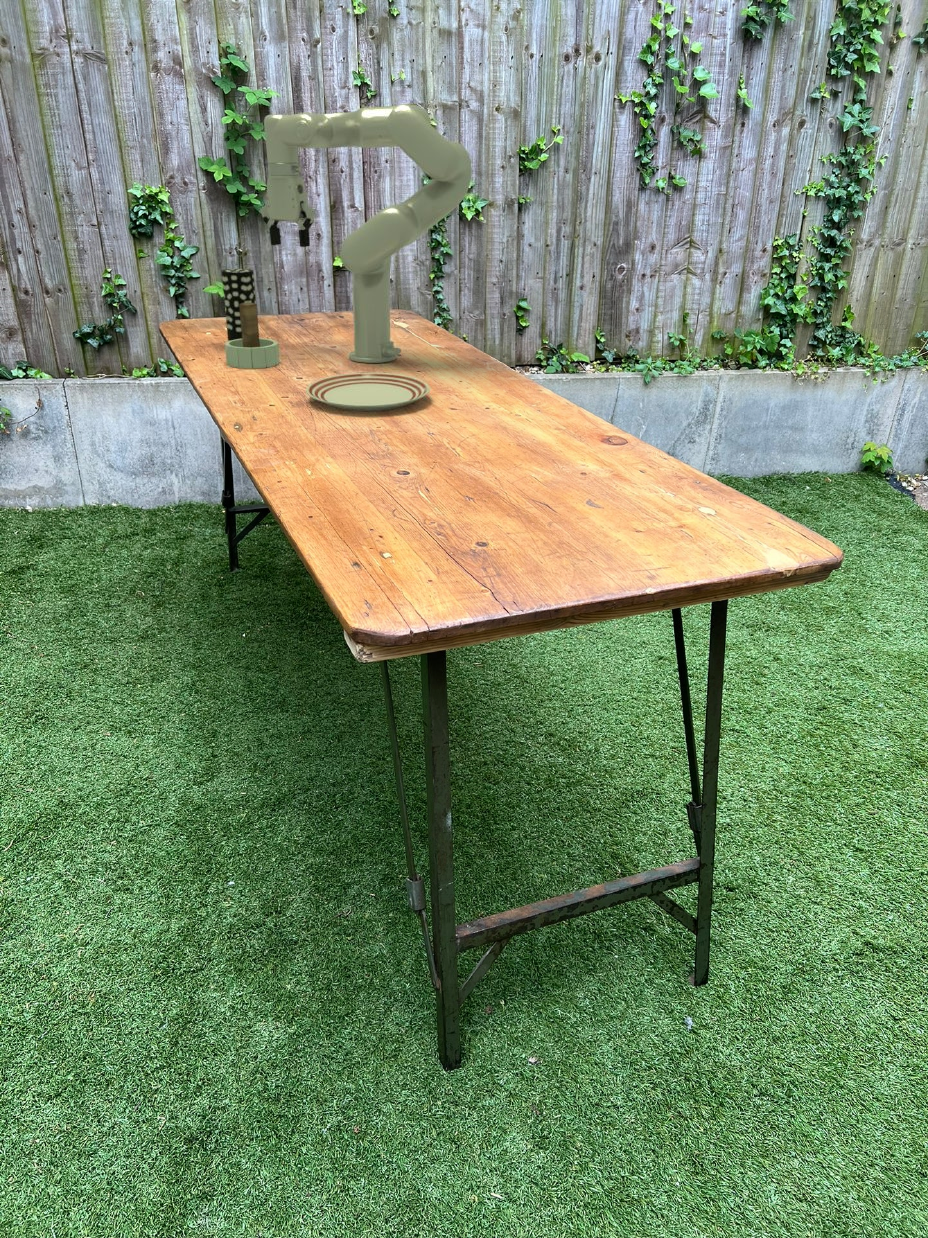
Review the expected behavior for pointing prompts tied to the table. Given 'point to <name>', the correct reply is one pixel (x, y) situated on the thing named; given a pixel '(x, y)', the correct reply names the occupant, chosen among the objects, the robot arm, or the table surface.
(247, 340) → the wooden rectangular post
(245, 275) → the white-spotted black cylinder
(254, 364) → the green faceted socket ring
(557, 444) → the table surface
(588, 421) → the table surface
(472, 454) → the table surface
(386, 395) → the dinner plate
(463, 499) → the table surface
